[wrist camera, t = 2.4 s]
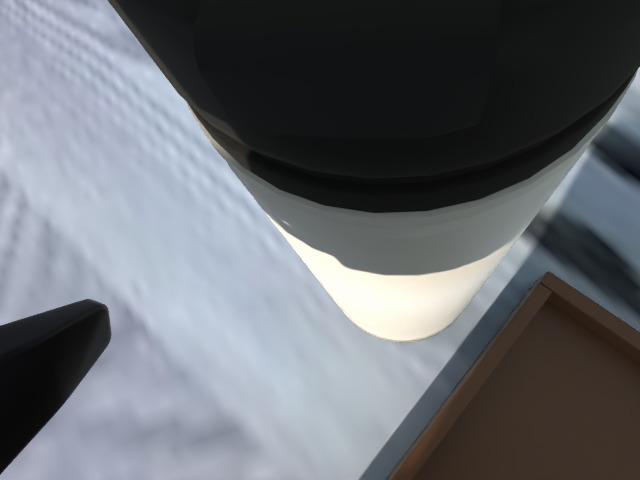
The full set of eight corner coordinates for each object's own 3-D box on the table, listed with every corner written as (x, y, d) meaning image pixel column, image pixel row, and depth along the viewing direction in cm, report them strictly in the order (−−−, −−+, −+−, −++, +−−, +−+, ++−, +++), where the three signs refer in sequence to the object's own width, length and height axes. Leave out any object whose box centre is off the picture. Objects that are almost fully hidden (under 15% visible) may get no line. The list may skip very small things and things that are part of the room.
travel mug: (324, 343, 22) (-148, 73, 3) (339, 204, 24) (95, -501, 5) (469, 358, 21) (1085, 82, 2) (474, 211, 23) (831, -673, 4)
